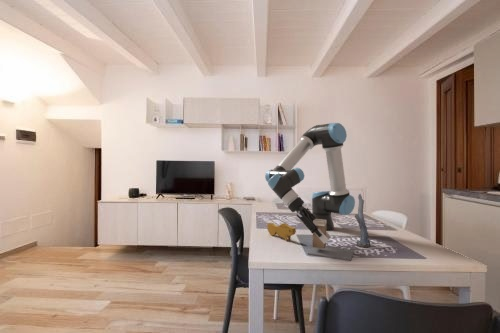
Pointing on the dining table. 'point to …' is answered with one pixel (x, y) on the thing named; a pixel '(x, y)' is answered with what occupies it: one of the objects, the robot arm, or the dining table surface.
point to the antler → (362, 225)
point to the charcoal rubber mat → (332, 253)
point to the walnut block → (322, 226)
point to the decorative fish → (281, 230)
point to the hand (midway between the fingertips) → (327, 240)
